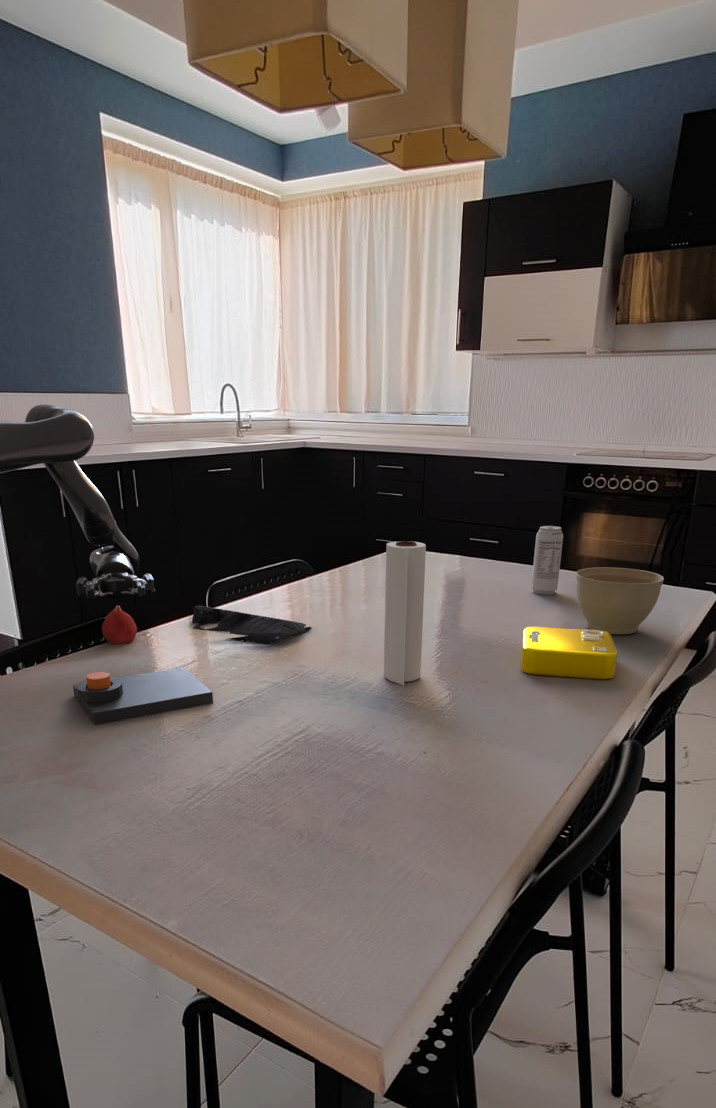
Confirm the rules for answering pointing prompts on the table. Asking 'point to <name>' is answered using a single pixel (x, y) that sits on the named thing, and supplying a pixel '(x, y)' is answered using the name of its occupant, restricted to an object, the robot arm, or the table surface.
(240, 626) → the dark slate chunk
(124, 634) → the onion
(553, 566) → the energy drink can
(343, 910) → the table surface
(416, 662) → the paper towel roll
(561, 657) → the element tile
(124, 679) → the scale
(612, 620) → the planter bowl
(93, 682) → the button
